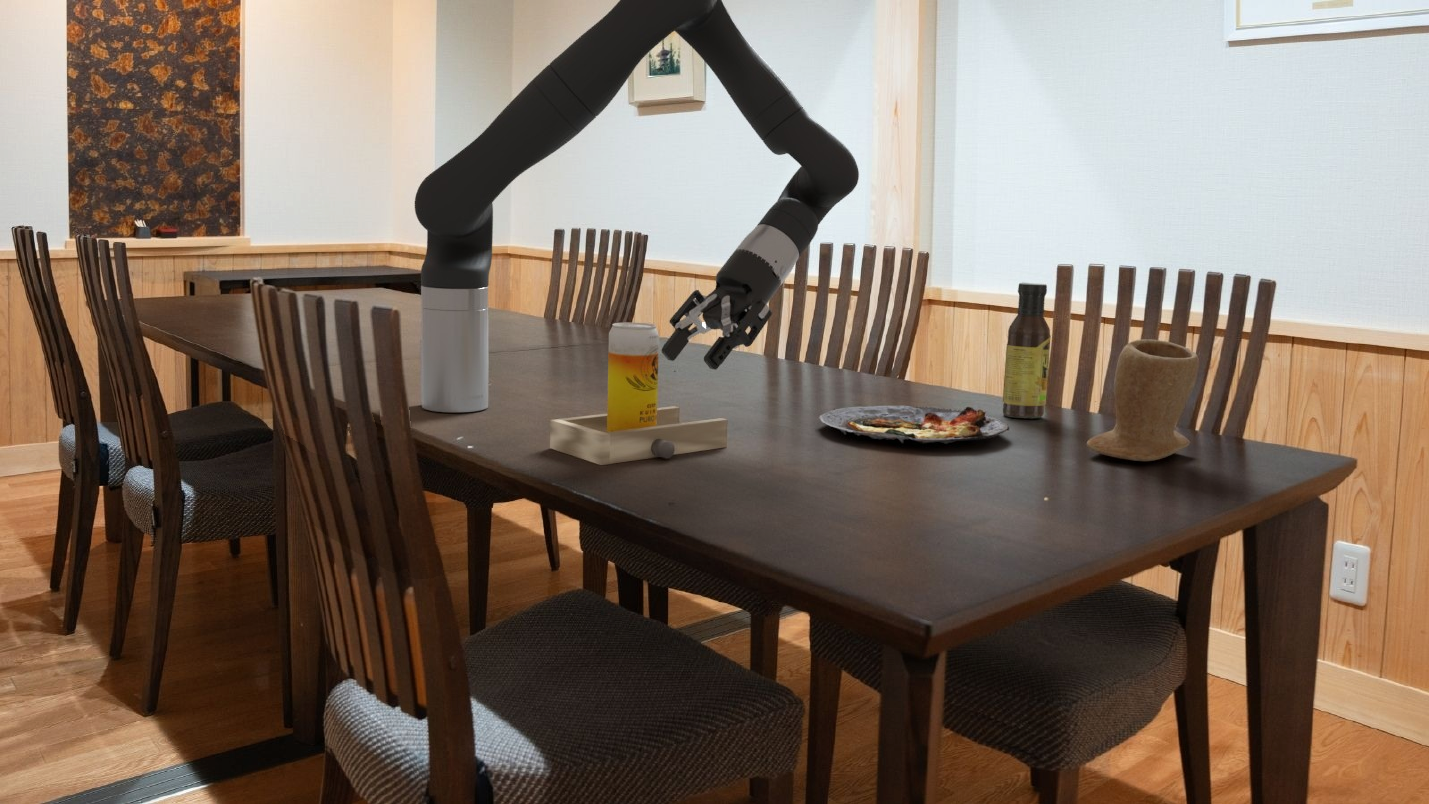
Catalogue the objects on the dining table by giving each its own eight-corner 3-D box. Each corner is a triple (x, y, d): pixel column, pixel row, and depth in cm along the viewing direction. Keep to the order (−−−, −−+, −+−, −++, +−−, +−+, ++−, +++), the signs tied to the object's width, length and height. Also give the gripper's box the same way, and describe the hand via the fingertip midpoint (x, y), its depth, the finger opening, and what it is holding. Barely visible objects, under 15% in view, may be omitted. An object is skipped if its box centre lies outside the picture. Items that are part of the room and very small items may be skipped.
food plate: (1023, 429, 170) (1024, 404, 170) (986, 462, 149) (987, 434, 149) (853, 415, 181) (854, 392, 180) (797, 443, 160) (797, 417, 159)
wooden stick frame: (541, 445, 149) (541, 417, 148) (663, 429, 161) (664, 403, 161) (611, 468, 138) (611, 438, 137) (737, 449, 150) (738, 422, 150)
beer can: (648, 452, 145) (652, 328, 143) (600, 449, 147) (602, 325, 144) (661, 443, 151) (664, 323, 149) (614, 439, 152) (617, 321, 150)
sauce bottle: (1048, 421, 178) (1059, 285, 174) (1005, 419, 178) (1015, 284, 175) (1039, 413, 184) (1050, 282, 181) (998, 411, 184) (1008, 280, 181)
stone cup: (1165, 474, 146) (1178, 350, 143) (1073, 457, 154) (1084, 339, 151) (1213, 457, 157) (1225, 342, 154) (1125, 442, 165) (1135, 332, 162)
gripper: (708, 244, 161) (637, 334, 156) (781, 250, 150) (707, 347, 145) (736, 283, 165) (668, 372, 160) (810, 292, 154) (739, 387, 149)
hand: (687, 360), depth 152 cm, fingers open, 8 cm apart
